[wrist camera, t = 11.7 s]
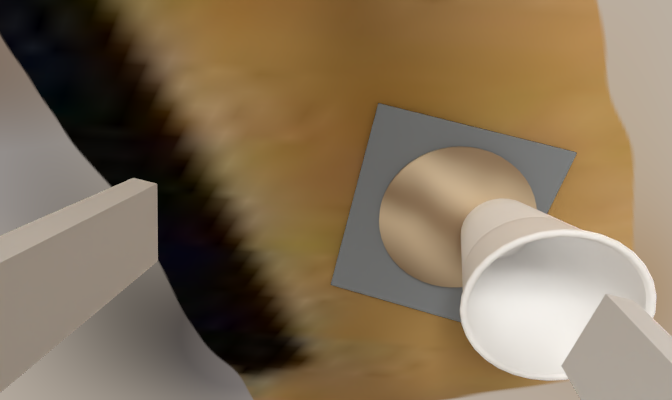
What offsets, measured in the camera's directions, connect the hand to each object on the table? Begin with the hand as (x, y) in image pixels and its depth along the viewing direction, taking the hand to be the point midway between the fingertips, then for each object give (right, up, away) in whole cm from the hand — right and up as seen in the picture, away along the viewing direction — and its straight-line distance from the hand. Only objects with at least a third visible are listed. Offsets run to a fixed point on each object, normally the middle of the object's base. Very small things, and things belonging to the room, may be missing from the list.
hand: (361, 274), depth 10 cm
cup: (+13, 0, +19) cm, 23 cm away
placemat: (+9, 0, +21) cm, 22 cm away
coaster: (+10, +1, +20) cm, 22 cm away
